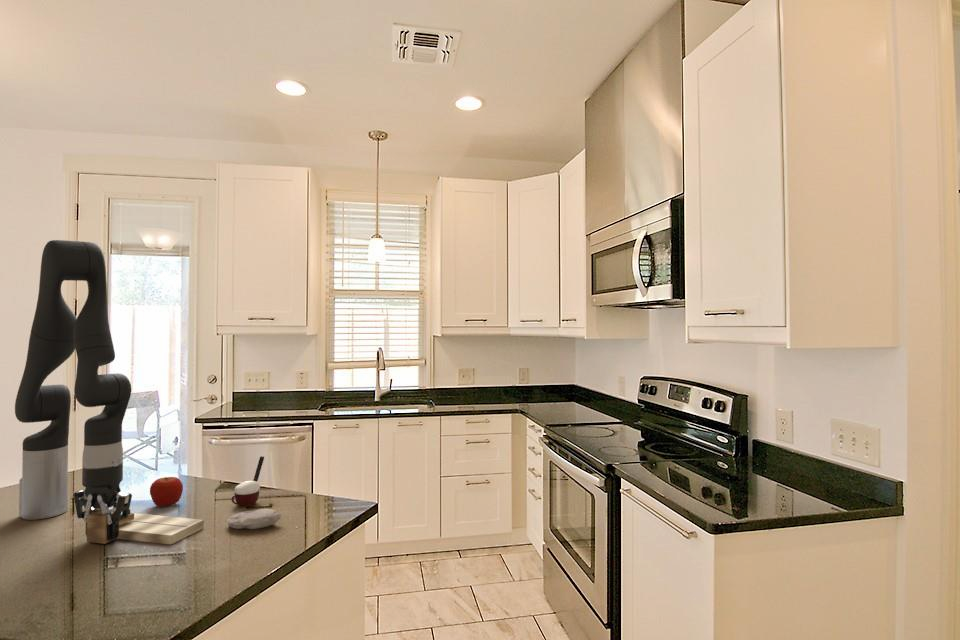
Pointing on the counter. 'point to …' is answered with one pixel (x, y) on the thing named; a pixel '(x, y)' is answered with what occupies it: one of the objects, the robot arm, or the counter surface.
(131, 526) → the board
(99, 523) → the block
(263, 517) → the fossil
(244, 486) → the cocoa
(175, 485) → the apple
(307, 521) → the counter surface
